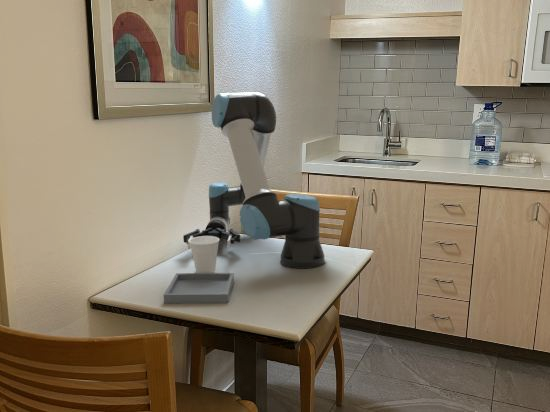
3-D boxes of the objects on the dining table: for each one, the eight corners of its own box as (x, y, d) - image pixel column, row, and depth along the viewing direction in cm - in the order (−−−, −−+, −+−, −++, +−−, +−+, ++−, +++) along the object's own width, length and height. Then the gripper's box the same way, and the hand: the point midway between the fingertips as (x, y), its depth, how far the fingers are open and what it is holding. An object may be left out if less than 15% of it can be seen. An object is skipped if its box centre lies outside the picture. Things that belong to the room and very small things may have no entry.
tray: (233, 280, 171) (233, 272, 170) (227, 302, 153) (227, 294, 153) (176, 280, 171) (176, 273, 171) (164, 303, 154) (163, 294, 153)
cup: (215, 278, 173) (214, 244, 171) (186, 276, 175) (184, 243, 173) (224, 268, 183) (223, 236, 180) (196, 266, 185) (194, 235, 182)
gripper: (249, 238, 208) (245, 254, 188) (184, 238, 209) (173, 255, 188) (249, 218, 207) (244, 233, 186) (183, 219, 207) (171, 234, 187)
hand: (208, 244), depth 187 cm, fingers open, 13 cm apart
